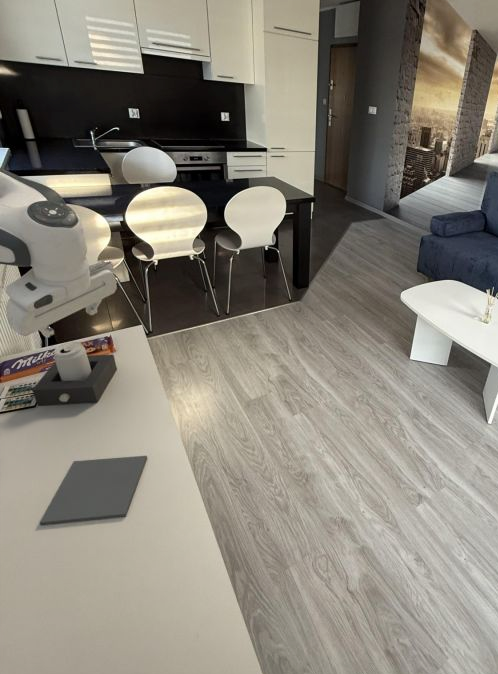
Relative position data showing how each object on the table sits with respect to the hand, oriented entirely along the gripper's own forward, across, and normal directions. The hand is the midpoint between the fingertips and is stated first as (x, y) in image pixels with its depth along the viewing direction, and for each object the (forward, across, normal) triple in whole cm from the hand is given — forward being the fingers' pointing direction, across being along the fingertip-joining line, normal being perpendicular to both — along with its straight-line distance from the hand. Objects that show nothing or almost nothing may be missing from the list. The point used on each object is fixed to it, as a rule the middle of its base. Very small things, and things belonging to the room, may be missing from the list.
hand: (71, 323), depth 87 cm
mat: (+12, +16, +29) cm, 36 cm away
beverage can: (+24, 0, 0) cm, 24 cm away
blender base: (+24, 0, 0) cm, 24 cm away
